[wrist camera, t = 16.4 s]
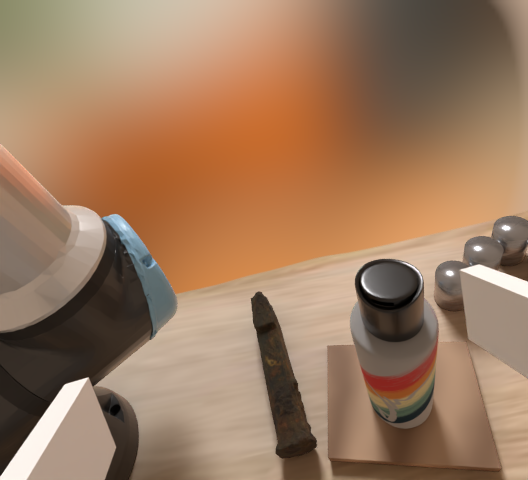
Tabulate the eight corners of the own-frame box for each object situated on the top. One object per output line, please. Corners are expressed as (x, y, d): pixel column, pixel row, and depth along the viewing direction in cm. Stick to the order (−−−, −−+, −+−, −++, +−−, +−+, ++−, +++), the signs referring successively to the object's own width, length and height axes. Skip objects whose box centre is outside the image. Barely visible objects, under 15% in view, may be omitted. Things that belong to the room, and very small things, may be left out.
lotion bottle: (362, 416, 34) (325, 308, 21) (377, 361, 37) (353, 235, 24) (426, 440, 32) (433, 333, 18) (437, 379, 35) (449, 247, 21)
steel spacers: (442, 332, 39) (444, 310, 35) (423, 249, 46) (423, 226, 43) (655, 324, 33) (680, 298, 30) (594, 232, 41) (608, 204, 38)
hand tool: (322, 453, 35) (312, 440, 32) (283, 463, 35) (269, 452, 32) (284, 297, 48) (275, 277, 45) (256, 306, 49) (245, 286, 45)
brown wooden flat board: (330, 460, 34) (328, 457, 33) (329, 350, 41) (327, 345, 40) (499, 471, 30) (501, 468, 29) (465, 346, 37) (466, 341, 36)
